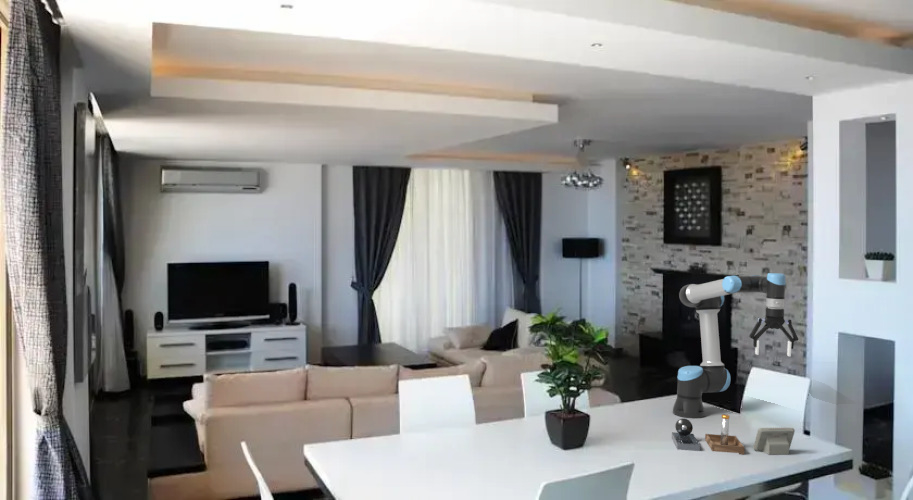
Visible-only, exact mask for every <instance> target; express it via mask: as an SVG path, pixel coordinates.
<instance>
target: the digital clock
mask: <svg viewBox="0 0 913 500" xmlns="http://www.w3.org/2000/svg"><path fill="white" fill-rule="evenodd" d="M795 431H796V430H795V428H794V427H786V426H785V427H782V426H781V427H759V428H758V430H757V432H756V436H755V439H754V443H753V447H752V448H753V450H754V451H757V452H763V453H765V455H769V456H777V455H778V456H779V455H781V456H784V455H787V456H788V455H790V449H791V445H792V441H793V438H794V435H795Z"/></svg>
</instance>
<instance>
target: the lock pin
mask: <svg viewBox="0 0 913 500" xmlns="http://www.w3.org/2000/svg"><path fill="white" fill-rule="evenodd" d="M720 427H721V428H720V435H721V442H720V445H728V435H729V431H730V415H729V414H721V425H720Z"/></svg>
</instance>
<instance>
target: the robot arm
mask: <svg viewBox="0 0 913 500" xmlns="http://www.w3.org/2000/svg"><path fill="white" fill-rule="evenodd" d="M786 281H787V280H786V274H784V273H777V272H768V273H767V276H762V275H756V274H755V275H754V274H753V275H728V276H725V277H724V278H722V279H717V280H713V281H709V282H705V283H699V284H697V283H696V284H695V283H690V284H686V285H684V286H682V288H680V291H679V293H678V295H679V300H680V302H681V304H683V305H684V306H686V307H689V308H695V311H696V313H697V314H698V316H699V326H700V327H699V329H700V338H701V339H700V340H701V341H700V342H701V354H702V355H701V356H702V362H701V363H700V365H686V366H681V367H680V368H679V369H678V371H677V388H676V389H677V390H676V394H677V395H676V398H675V401H674V405H673V406H672V414H674V415H675V416H678V417H681V418H682V417H683V418H687V419H689V418H690V419H699V418H700V419H701V418H704V417H705V416H706V415H705V414H706V411H705V407H704V404H703V400H702V395H703V393H705V394H706V393H720V392H724V391H726V390H727V389H728V388H729V387H730V384H731V374H730V372H729V370H728V369H727V368H725V363H723V362H722V360H721V349H720V348H721V347H720V345H721V344H720V336H719V335H720V333H719V322H718V321H719V320H718V319H719V318H718V313H719V312H720V310H721V307H722V306H723V305H724V302H725V296H727V295H732V294H739V293H762V294H766V296H765V297H766V300H765V306H766V308H765V316H764V317H765V318H761V317H758V318H757V321H756V323H755V325H754V327H753V329H752V331H751V332H750V333H749V338H750V339H752V341H753V345H752V346H753V347H754V352H755V353H754V354H755V355H757V356H759V355H760V354H759V352H760V350H759V349H760V340H759V338H760V337H761V336H762V335H764V334H765V332H766V331H767V330H768V329H771V330H772V329H773V330H775V329H776V330H779V329H780V330H781V332H782V333H783V334H784V335H785V337H787V339H788V340H787V349H786V355H787V357H792V350H794V347H795V346H794V343H795V342H798V341H799V337H798V335H797V332H796V331H795V329H794V327H793V326H794V325H793V324H792V323H793V322H792V319H790V318H787V319H785V309H784V308H785V297H786V284H787V282H786ZM763 323H765V324H764V326H763V327H762V328H761V329H760V327H761V325H762V324H763ZM784 324H785V325H787V328H788V330H789V331H790V333H791V335H790V333H789V332H788V331H787V329H785V327H784ZM759 329H760V330H759ZM758 330H759V331H758Z"/></svg>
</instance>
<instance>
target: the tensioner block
mask: <svg viewBox="0 0 913 500" xmlns="http://www.w3.org/2000/svg"><path fill="white" fill-rule="evenodd" d="M674 426H675V427H674V428H675V430H676V432H671V439H672V442H673V444H674V446H675V447H676V449H677V450H679V451H680V450H681V451H695V452H700V451H701V445H700V443H699V441H698V439H697V437H696V436H695V435H694V433H692V432H693V423H692V422H691V421H690V420H689V419H688V418H680V419H678V420H677V421H676V422H675V425H674Z"/></svg>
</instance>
